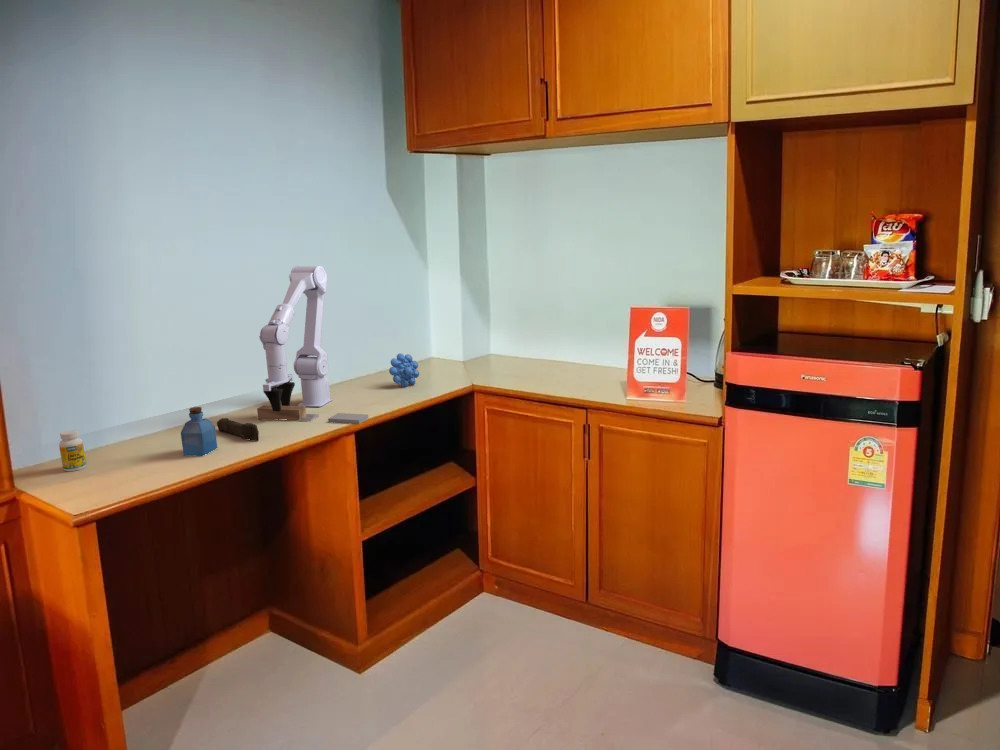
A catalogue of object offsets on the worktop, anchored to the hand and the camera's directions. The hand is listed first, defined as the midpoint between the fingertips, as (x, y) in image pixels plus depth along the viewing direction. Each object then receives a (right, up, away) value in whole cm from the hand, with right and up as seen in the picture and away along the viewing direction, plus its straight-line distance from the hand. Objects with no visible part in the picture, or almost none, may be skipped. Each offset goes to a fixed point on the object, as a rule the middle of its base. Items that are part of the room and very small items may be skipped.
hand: (281, 408), depth 249 cm
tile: (+16, -3, -4) cm, 17 cm away
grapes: (+34, +6, +34) cm, 48 cm away
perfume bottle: (-13, -10, -30) cm, 35 cm away
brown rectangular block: (+2, -3, 0) cm, 4 cm away
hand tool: (-7, -7, -16) cm, 19 cm away
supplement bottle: (-42, -14, -40) cm, 59 cm away
